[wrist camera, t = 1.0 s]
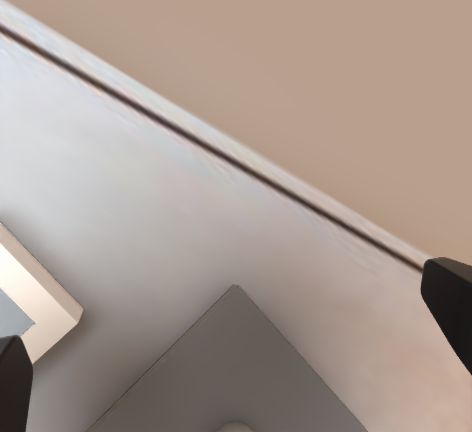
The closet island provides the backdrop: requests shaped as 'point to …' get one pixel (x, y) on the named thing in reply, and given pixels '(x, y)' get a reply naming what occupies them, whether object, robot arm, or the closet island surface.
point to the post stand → (230, 382)
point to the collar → (35, 296)
